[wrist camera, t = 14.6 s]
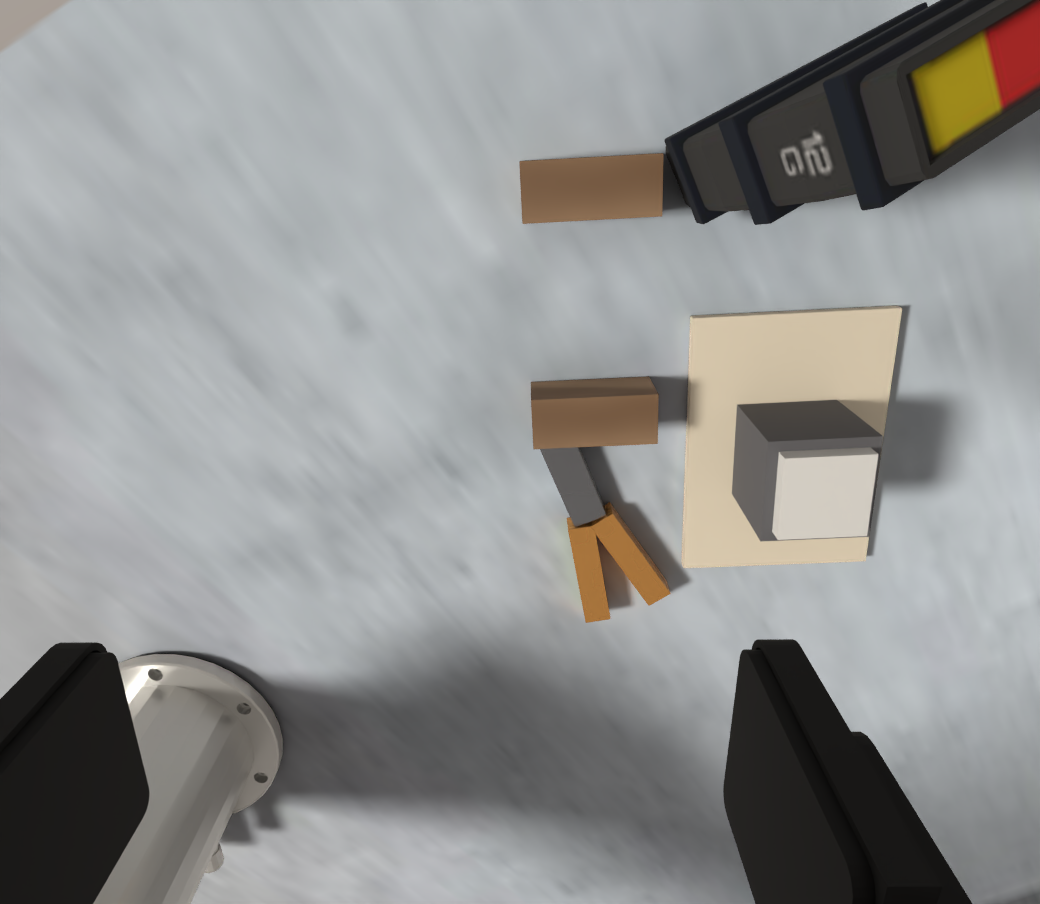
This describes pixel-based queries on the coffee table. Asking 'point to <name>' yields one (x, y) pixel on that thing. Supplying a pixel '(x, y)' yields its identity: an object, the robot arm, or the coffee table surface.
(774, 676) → the robot arm
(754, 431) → the grey box
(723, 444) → the mat
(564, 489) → the cutter
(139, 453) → the coffee table surface
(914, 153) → the black layered block
